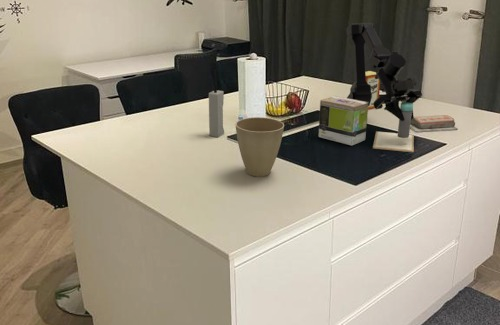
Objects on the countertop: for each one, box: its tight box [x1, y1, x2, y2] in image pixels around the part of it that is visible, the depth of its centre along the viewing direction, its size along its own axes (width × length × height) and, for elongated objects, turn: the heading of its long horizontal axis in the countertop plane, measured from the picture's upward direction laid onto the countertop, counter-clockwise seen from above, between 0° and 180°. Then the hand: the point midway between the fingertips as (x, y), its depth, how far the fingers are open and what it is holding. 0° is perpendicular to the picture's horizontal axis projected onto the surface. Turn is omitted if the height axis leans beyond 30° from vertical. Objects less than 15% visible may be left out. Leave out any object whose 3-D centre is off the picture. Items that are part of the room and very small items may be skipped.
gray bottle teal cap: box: [397, 102, 414, 138], centre depth 188 cm, size 4×4×12 cm
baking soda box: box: [365, 70, 381, 111], centre depth 236 cm, size 10×6×16 cm
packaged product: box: [410, 114, 459, 133], centre depth 211 cm, size 18×5×10 cm
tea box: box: [318, 95, 369, 146], centre depth 196 cm, size 15×10×15 cm
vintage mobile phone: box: [208, 69, 225, 138], centre depth 196 cm, size 4×5×25 cm
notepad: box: [372, 130, 415, 153], centre depth 195 cm, size 14×19×1 cm
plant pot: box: [234, 116, 285, 177], centre depth 164 cm, size 15×15×16 cm
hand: (407, 119), depth 187 cm, fingers closed on gray bottle teal cap, 4 cm apart
